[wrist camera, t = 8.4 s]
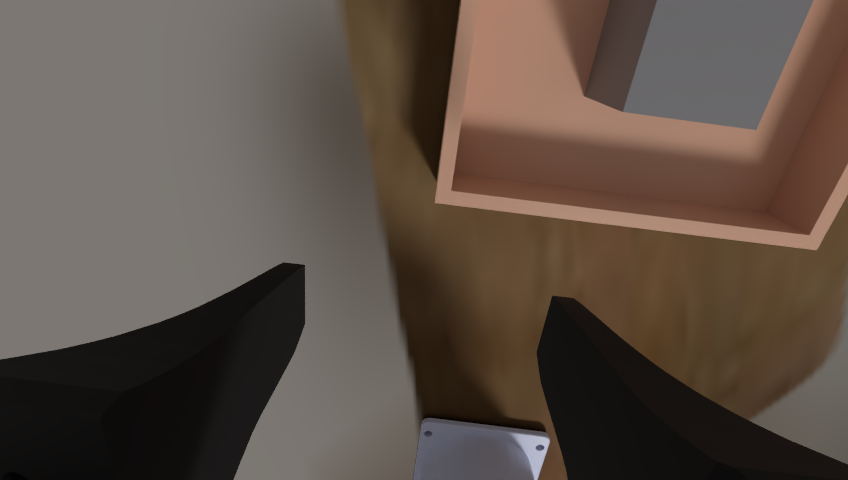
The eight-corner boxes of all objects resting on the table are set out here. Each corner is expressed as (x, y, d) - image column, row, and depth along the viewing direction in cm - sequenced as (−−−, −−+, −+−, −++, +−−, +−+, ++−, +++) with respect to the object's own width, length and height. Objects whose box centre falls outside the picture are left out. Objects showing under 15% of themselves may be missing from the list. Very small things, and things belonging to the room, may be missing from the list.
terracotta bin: (768, 222, 21) (816, 250, 18) (436, 181, 21) (434, 202, 18) (950, -152, 15) (1063, -196, 12) (487, -211, 15) (496, -268, 12)
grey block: (688, 110, 18) (756, 130, 14) (584, 96, 18) (622, 111, 14) (732, -10, 17) (825, -27, 13) (616, -26, 17) (671, -48, 12)
